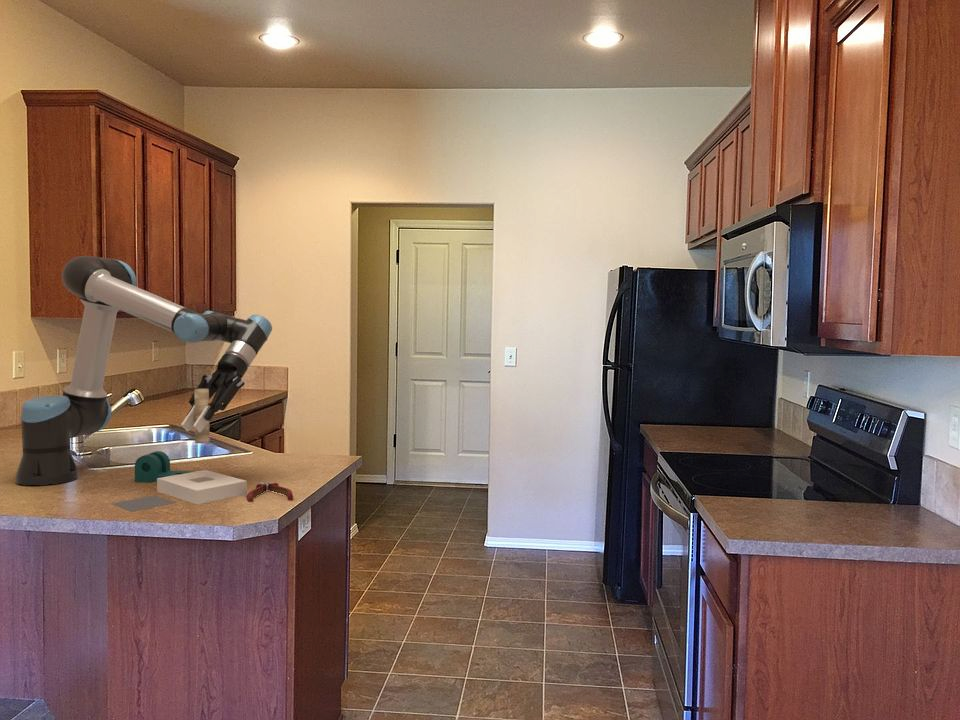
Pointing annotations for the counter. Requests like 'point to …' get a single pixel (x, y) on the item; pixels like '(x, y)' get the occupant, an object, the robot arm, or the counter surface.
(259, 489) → the pliers
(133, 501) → the mat
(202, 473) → the hole block
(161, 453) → the bracket
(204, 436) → the peg
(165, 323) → the robot arm
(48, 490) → the counter surface
